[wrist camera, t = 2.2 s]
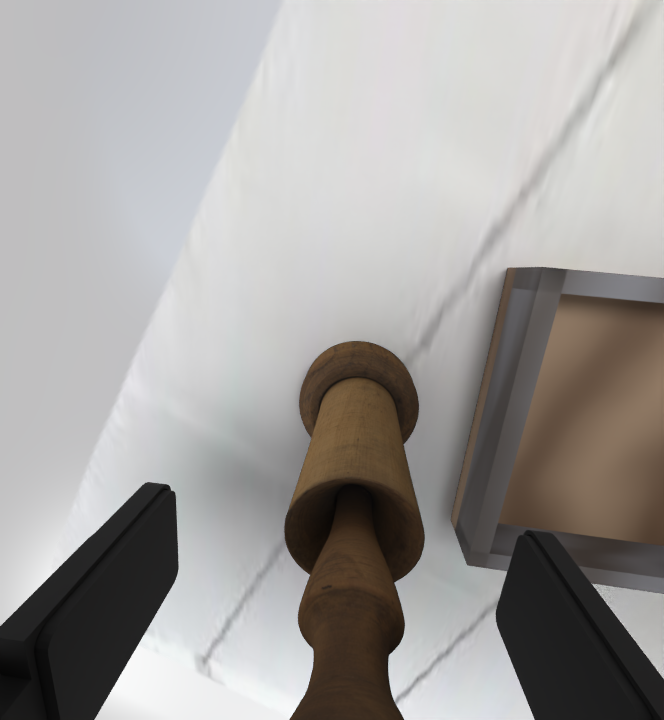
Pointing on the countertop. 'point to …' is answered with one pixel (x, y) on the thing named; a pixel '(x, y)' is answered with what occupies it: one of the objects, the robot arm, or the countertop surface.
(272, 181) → the countertop surface
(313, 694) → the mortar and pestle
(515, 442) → the keyhole board
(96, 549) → the robot arm
